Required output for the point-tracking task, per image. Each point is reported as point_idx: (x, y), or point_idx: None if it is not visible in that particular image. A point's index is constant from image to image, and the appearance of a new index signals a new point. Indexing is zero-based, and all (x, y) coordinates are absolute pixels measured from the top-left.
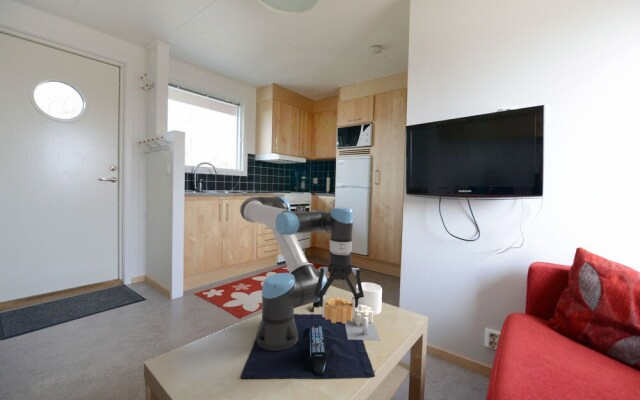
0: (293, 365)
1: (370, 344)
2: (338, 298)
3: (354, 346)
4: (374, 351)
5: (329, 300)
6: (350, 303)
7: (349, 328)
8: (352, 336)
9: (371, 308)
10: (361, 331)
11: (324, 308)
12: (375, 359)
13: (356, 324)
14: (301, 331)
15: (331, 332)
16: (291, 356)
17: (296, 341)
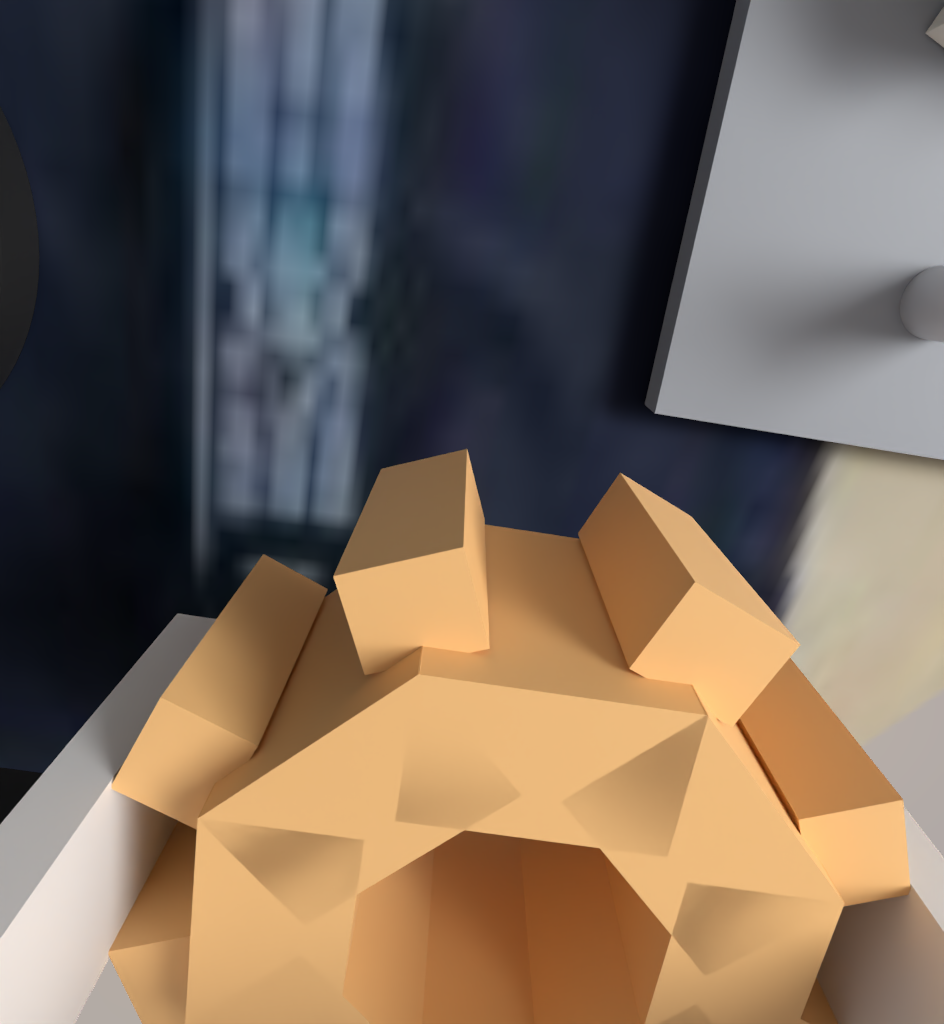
0: (43, 685)
1: (901, 454)
2: (577, 716)
3: (701, 470)
4: (878, 579)
5: (239, 833)
6: (862, 898)
7: (775, 134)
8: (737, 355)
9: None
10: (914, 242)
11: (136, 888)
12: (823, 692)
13: (931, 35)
14: (78, 40)
15: (503, 119)
16: (8, 561)
17: (24, 326)
